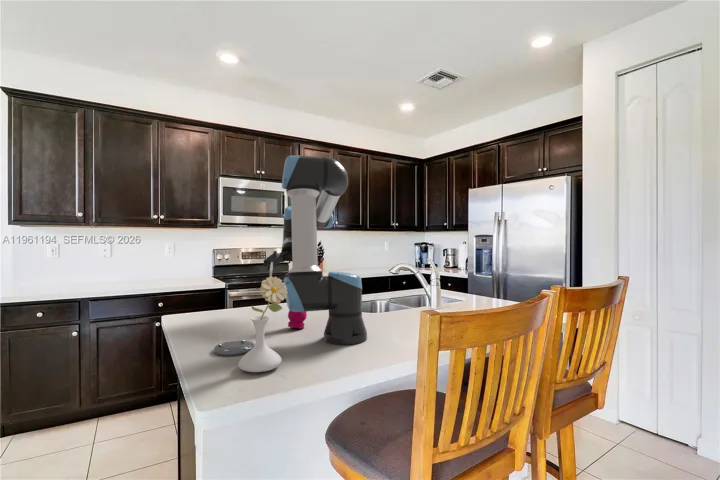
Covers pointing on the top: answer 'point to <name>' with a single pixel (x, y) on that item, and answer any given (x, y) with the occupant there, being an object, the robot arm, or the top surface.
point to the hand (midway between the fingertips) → (288, 274)
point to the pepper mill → (296, 319)
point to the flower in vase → (260, 354)
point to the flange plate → (233, 348)
